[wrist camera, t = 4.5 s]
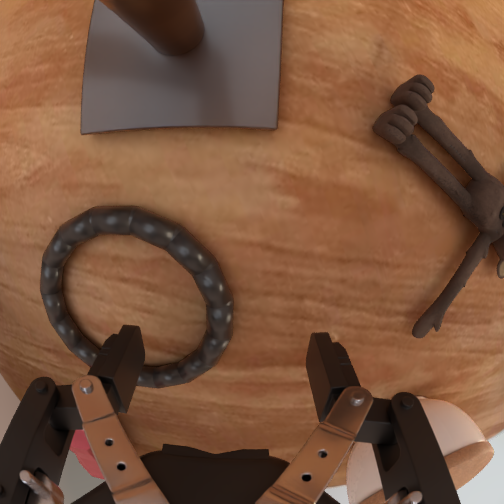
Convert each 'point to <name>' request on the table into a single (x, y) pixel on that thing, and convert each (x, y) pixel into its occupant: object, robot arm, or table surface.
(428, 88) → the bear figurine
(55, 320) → the ring
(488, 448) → the lidded bowl
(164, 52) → the post
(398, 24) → the table surface
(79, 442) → the meat
